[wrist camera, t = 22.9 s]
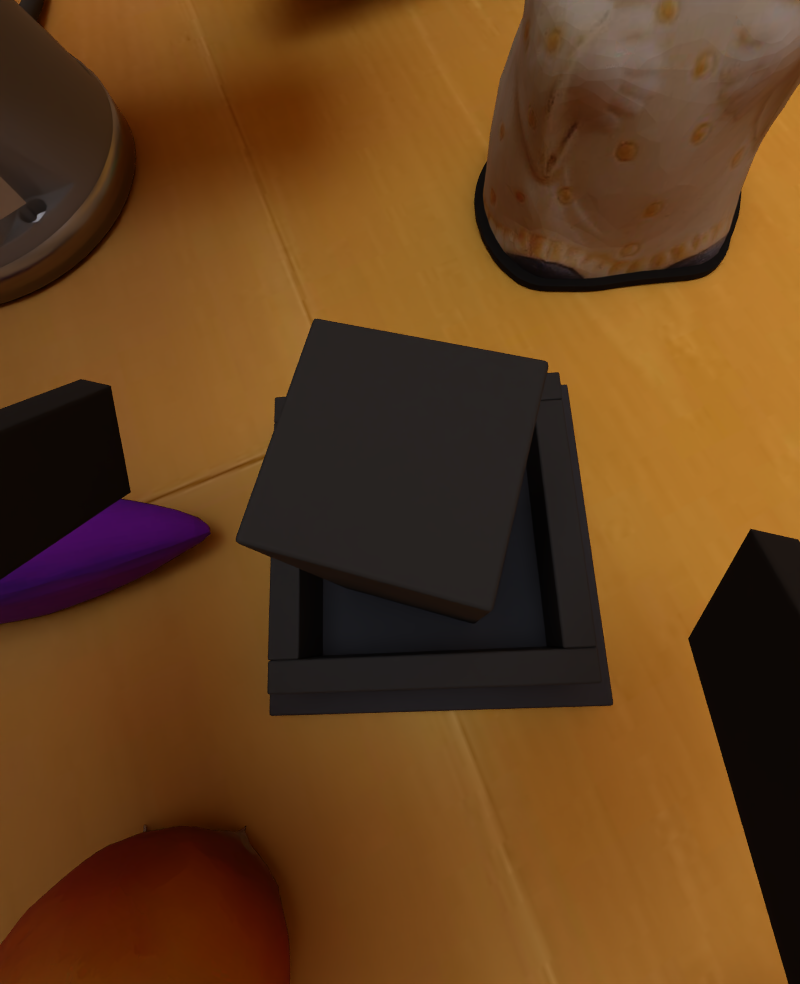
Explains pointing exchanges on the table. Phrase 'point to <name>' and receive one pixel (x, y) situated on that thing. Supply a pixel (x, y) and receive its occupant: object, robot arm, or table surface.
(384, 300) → the table surface
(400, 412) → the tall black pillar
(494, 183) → the figurine
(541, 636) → the base pad
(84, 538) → the purple eggplant
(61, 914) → the fruit
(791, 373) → the table surface
